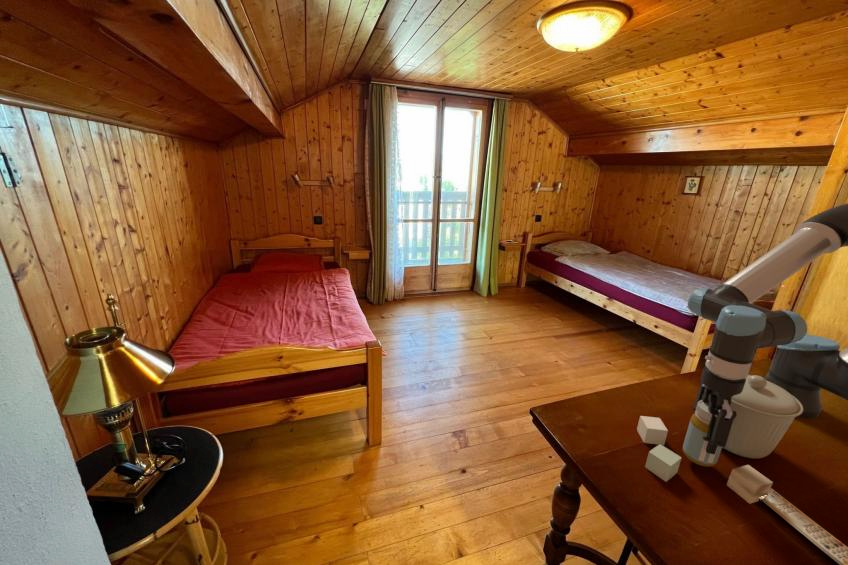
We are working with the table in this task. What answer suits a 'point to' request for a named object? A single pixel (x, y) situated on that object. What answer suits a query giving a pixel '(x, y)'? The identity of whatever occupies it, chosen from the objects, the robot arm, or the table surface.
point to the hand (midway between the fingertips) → (700, 450)
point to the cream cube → (652, 430)
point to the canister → (760, 417)
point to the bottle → (699, 435)
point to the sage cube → (663, 462)
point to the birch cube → (749, 483)
